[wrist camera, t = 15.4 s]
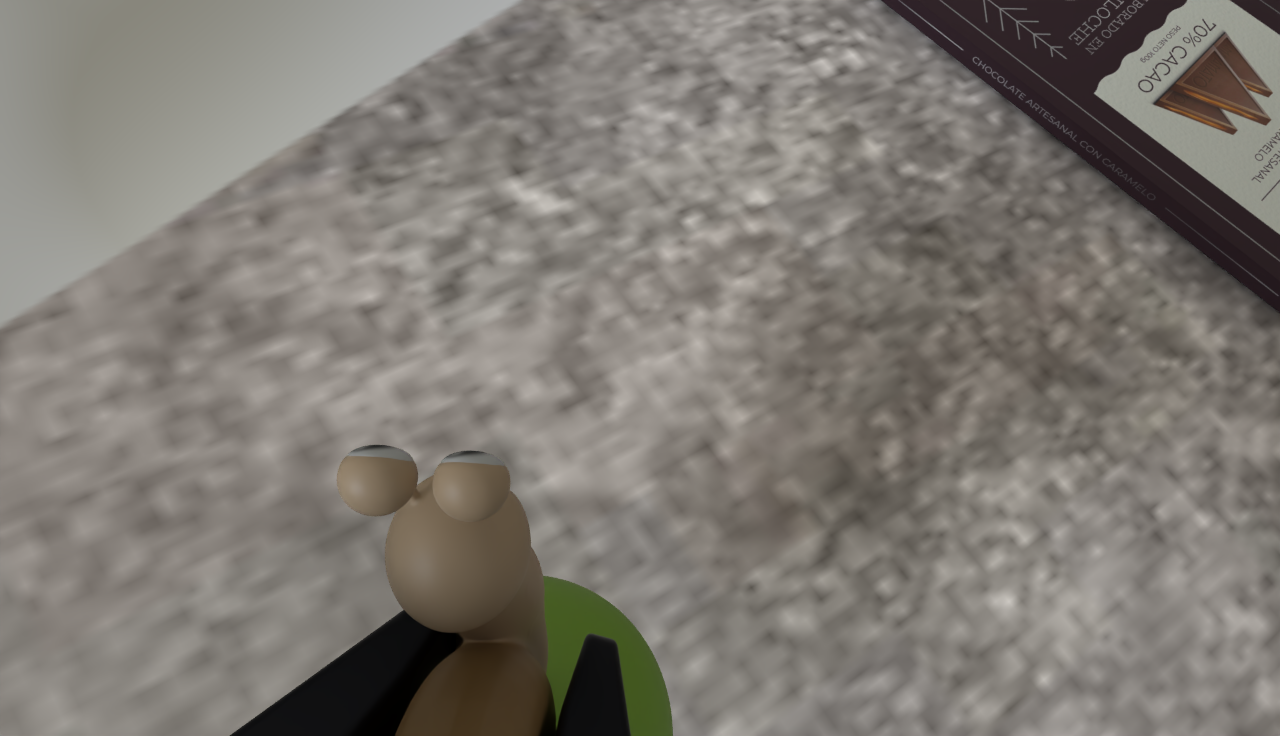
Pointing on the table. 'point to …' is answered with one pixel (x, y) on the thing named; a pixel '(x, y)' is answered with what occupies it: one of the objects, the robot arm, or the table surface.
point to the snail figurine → (489, 601)
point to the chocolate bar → (1147, 104)
